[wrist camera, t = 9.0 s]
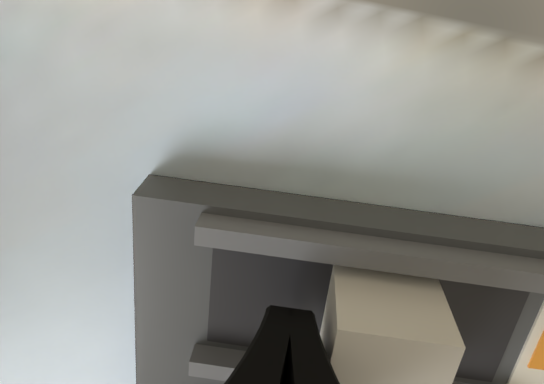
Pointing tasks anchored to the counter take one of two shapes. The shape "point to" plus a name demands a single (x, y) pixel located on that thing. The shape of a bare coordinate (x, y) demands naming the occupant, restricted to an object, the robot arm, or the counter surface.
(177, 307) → the switch panel
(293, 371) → the robot arm
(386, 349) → the tab
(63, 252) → the counter surface
